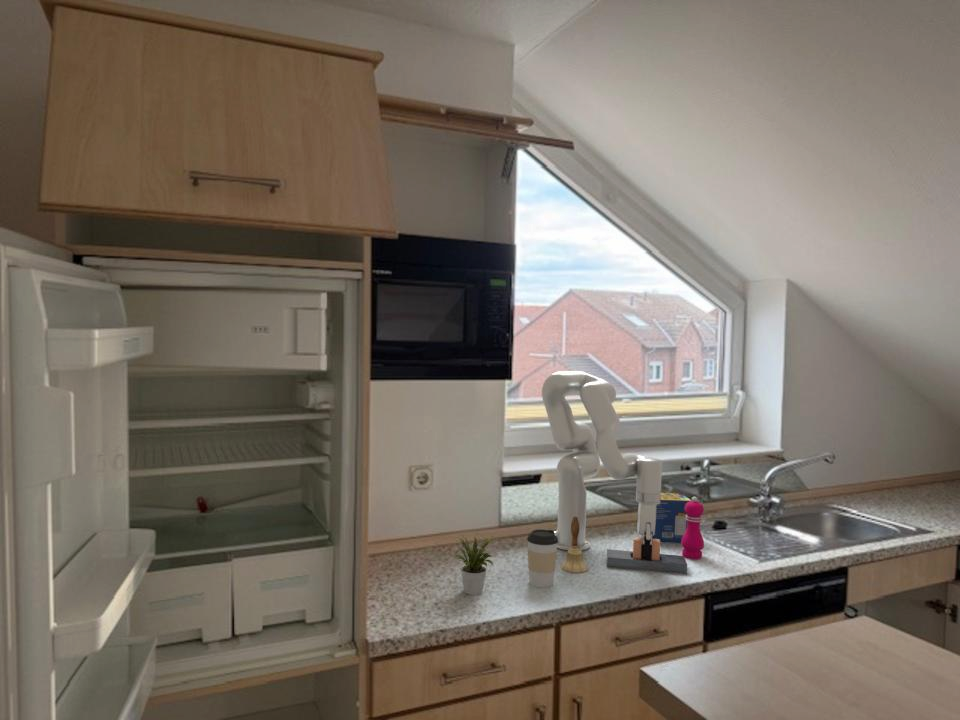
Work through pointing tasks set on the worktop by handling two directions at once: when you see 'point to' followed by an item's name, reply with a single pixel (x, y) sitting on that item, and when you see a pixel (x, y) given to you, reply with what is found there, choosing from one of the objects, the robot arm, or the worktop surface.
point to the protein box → (671, 518)
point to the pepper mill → (693, 530)
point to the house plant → (474, 566)
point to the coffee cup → (542, 557)
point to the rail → (646, 562)
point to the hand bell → (574, 552)
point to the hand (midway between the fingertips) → (645, 554)
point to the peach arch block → (637, 548)
